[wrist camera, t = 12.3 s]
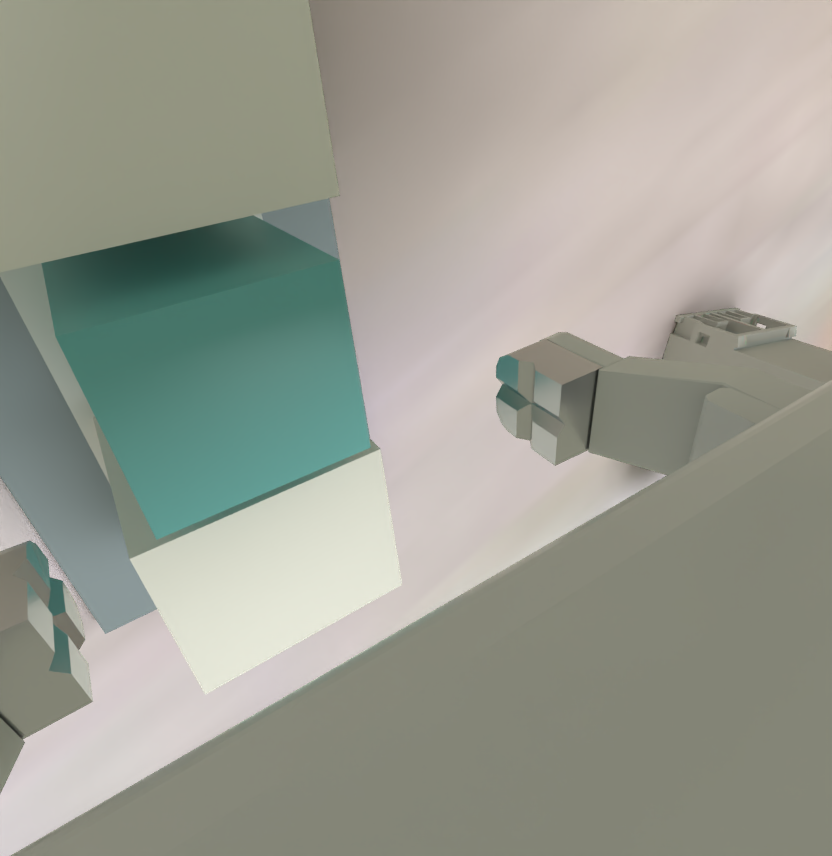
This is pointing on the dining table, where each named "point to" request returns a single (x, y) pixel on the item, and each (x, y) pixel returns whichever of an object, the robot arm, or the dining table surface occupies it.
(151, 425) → the block
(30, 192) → the mounting panel
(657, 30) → the dining table surface
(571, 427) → the robot arm
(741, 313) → the circuit breaker
